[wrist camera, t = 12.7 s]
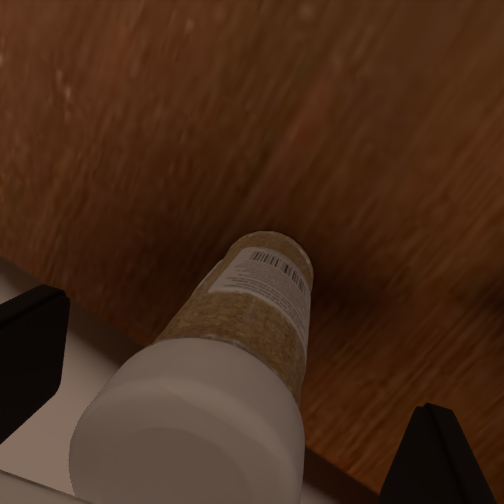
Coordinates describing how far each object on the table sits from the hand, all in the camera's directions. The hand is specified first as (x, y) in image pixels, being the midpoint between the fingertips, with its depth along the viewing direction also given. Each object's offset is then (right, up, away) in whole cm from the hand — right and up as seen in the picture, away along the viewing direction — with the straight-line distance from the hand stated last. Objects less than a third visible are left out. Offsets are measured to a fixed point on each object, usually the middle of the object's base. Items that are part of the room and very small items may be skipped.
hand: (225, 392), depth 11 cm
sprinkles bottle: (+2, +3, +10) cm, 10 cm away
